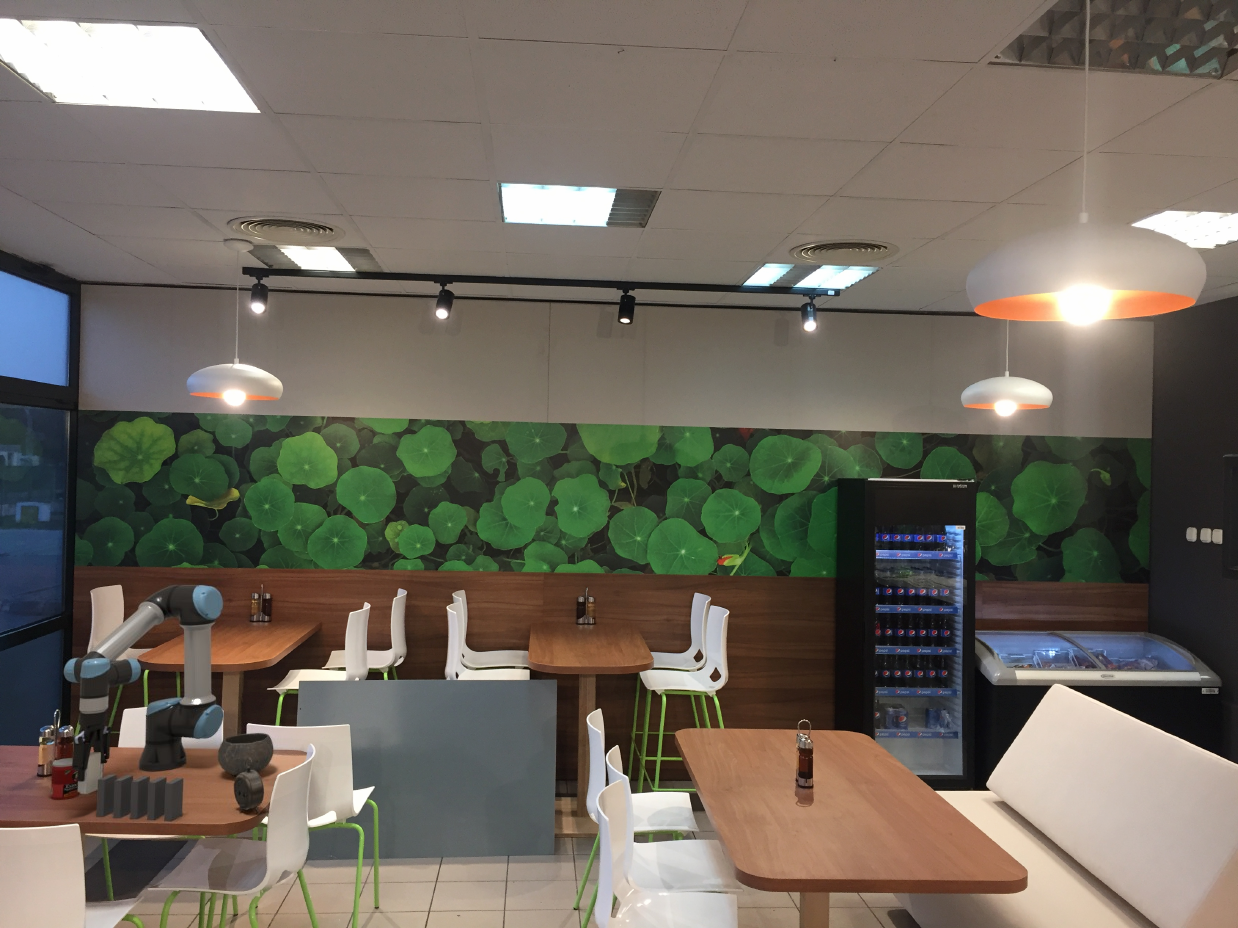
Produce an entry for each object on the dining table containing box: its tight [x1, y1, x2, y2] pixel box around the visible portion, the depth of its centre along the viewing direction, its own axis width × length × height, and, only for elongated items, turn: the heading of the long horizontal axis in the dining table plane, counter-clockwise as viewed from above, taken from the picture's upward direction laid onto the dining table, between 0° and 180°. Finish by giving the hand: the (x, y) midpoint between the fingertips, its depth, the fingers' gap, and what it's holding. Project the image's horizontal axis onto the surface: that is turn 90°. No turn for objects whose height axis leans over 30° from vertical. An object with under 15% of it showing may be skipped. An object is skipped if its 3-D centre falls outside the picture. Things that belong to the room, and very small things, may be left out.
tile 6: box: [163, 777, 184, 822], centre depth 260 cm, size 2×5×11 cm, turn 172°
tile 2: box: [96, 774, 118, 818], centre depth 263 cm, size 2×5×11 cm, turn 172°
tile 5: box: [146, 776, 168, 821], centre depth 260 cm, size 2×5×11 cm, turn 172°
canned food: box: [50, 757, 80, 801], centre depth 278 cm, size 8×8×11 cm
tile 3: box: [112, 774, 134, 819], centre depth 262 cm, size 2×5×11 cm, turn 172°
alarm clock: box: [233, 758, 265, 815], centre depth 266 cm, size 11×5×16 cm, turn 50°
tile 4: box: [129, 775, 151, 820], centre depth 261 cm, size 2×5×11 cm, turn 172°
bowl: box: [217, 732, 275, 777], centre depth 303 cm, size 18×18×13 cm
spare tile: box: [79, 751, 101, 795], centre depth 263 cm, size 2×5×11 cm, turn 172°
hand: (90, 788), depth 263 cm, fingers closed on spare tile, 5 cm apart
